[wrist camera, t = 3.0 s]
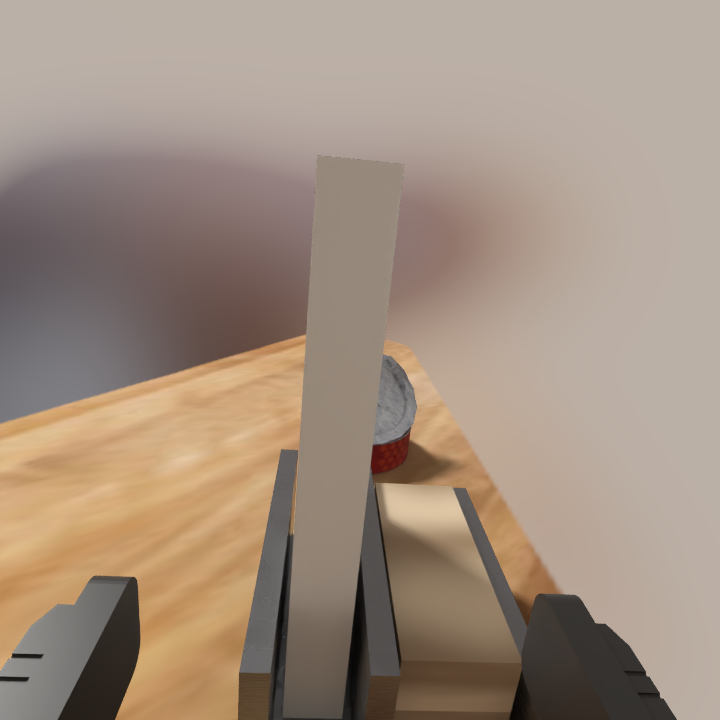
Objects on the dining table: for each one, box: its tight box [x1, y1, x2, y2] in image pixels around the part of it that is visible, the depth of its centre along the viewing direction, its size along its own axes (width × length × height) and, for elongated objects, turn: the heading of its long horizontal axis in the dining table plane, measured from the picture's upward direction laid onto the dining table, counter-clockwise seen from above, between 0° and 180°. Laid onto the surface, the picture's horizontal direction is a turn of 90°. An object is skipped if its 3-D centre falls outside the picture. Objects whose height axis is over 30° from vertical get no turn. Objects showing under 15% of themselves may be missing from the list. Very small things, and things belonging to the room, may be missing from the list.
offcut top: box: [374, 483, 522, 712], centre depth 25 cm, size 12×5×2 cm, turn 3°
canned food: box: [371, 355, 417, 474], centre depth 47 cm, size 11×10×10 cm
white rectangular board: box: [282, 155, 404, 719], centre depth 23 cm, size 9×2×22 cm, turn 3°
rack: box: [238, 449, 539, 720], centre depth 26 cm, size 15×12×8 cm
